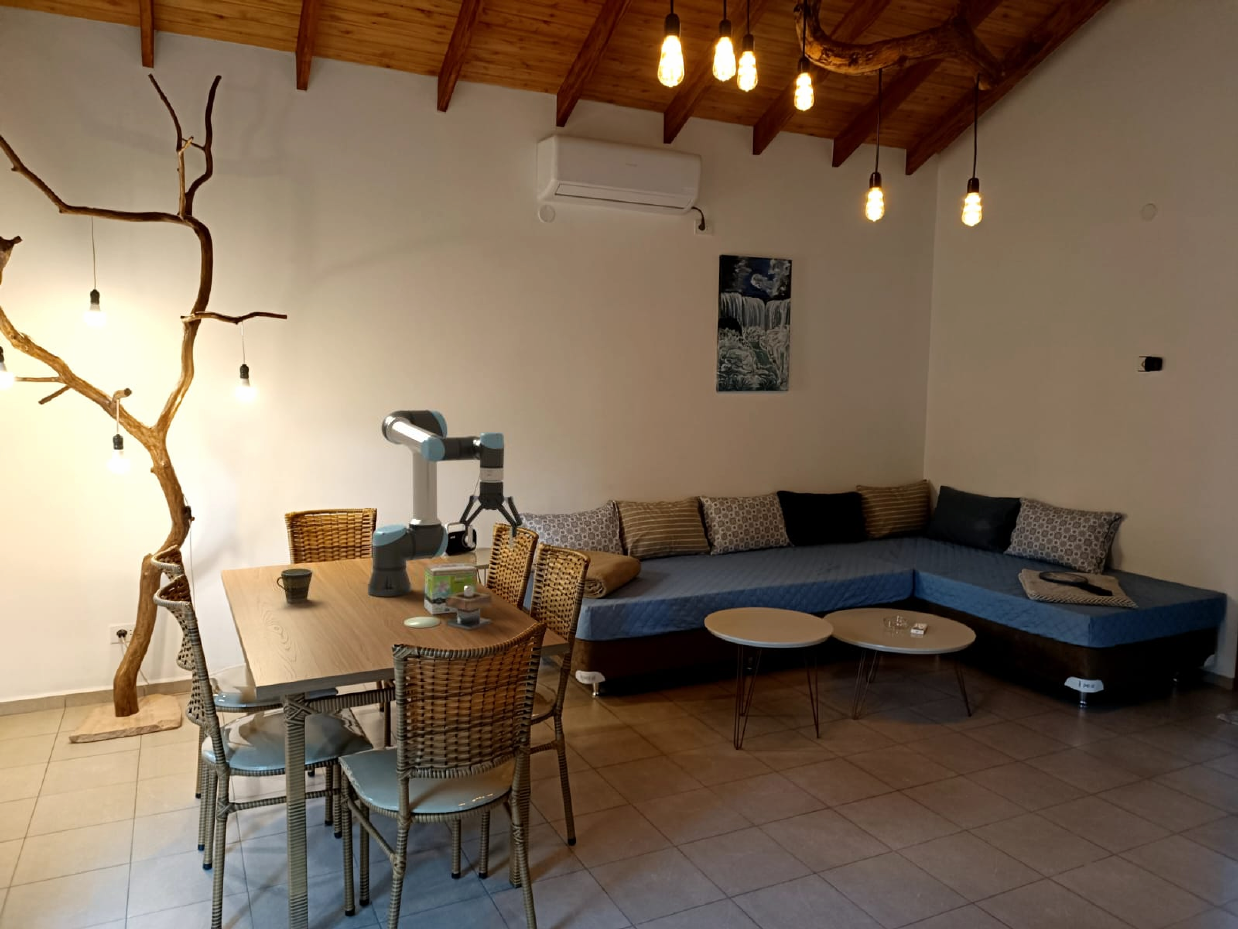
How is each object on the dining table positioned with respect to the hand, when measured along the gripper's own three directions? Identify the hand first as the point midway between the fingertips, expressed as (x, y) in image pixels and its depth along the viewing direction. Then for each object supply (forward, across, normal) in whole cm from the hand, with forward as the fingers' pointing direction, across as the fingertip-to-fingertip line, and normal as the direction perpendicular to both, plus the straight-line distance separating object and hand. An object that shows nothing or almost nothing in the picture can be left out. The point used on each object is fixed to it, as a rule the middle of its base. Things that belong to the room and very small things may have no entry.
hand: (490, 546), depth 277 cm
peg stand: (+23, -5, -9) cm, 25 cm away
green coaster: (+23, -19, -11) cm, 32 cm away
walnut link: (+17, -5, -9) cm, 20 cm away
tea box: (+23, -15, +6) cm, 29 cm away
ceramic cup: (+23, -69, +5) cm, 73 cm away
